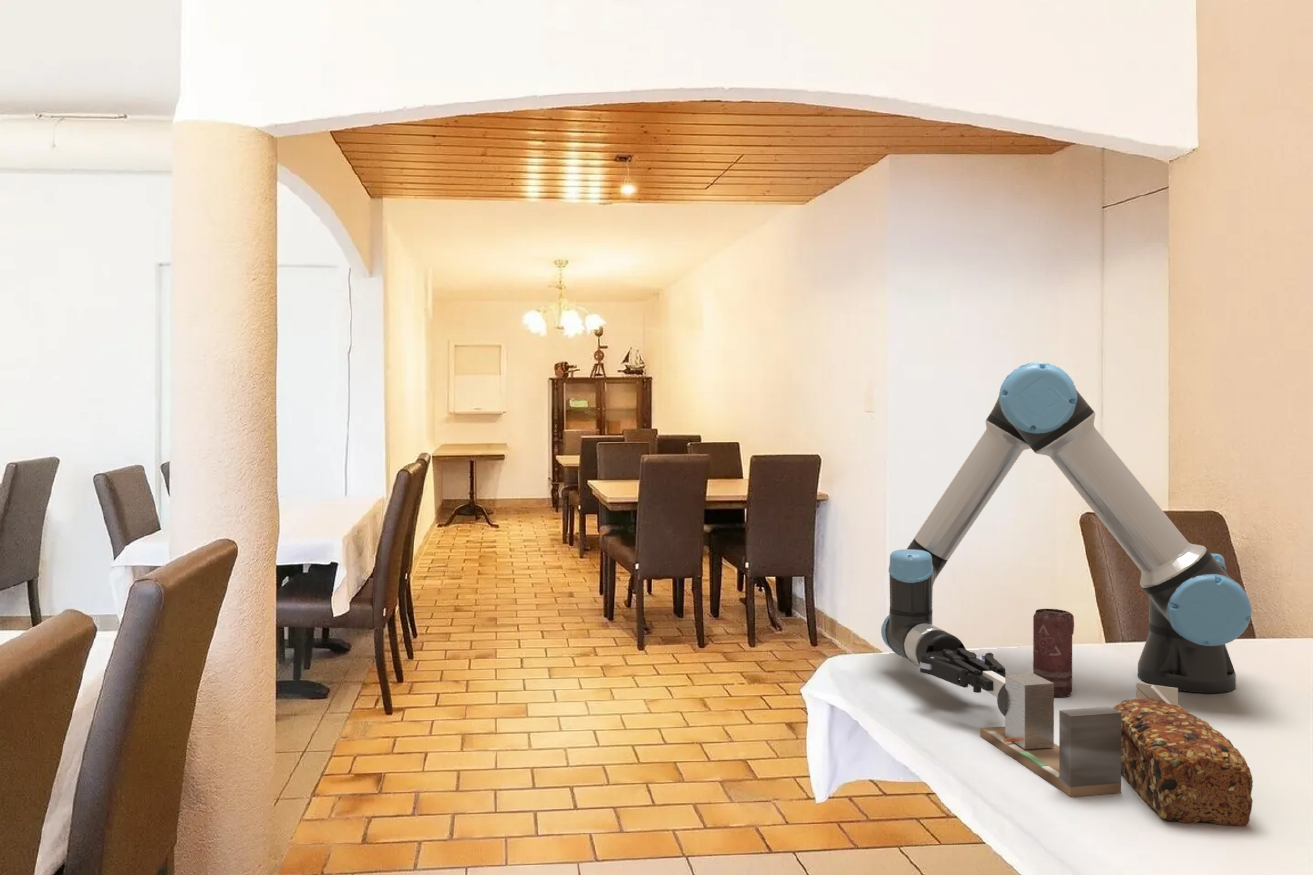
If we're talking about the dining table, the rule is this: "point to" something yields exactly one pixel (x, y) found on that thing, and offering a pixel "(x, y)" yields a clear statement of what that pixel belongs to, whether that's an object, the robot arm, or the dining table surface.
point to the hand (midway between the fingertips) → (1010, 692)
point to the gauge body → (1074, 752)
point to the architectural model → (1157, 693)
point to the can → (1053, 648)
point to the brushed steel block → (1028, 710)
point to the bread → (1183, 765)
